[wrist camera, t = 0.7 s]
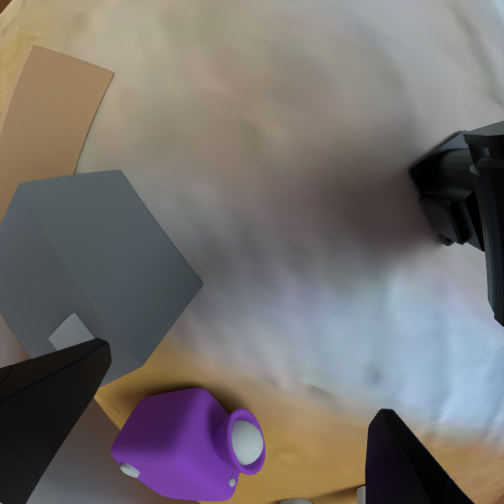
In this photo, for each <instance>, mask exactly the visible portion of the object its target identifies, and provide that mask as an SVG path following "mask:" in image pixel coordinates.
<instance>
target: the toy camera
mask: <svg viewBox="0 0 504 504" xmlns="http://www.w3.org/2000/svg"><path fill="white" fill-rule="evenodd" d="M111 454H112V456H113V457H114V459H115V460H116V461H117V462H118V463H119V464H120V465H121V470H122V471H123V472H125V473H126V474H128V475H130V476H132V477H136V478H138V479H139V480H140V481H141V482H143V483H144V484H145V485H147V486H148V487H150V488H151V489H152V490H154V491H155V492H157V493H158V494H161V495H162V496H165V497H169V498H176V499H185V500H197V501H224V500H228V499H230V498H231V497H232V495H233V493H234V491H235V488H236V485H237V481H238V477H239V473H240V472H241V473H244V474H247V475H253V474H256V473H257V472H259V471H260V469H261V468H262V466H263V463H264V459H265V443H264V438H263V434H262V430H261V428H260V425H259V423H258V422H257V420H256V418H255V417H254V416H253V414H252V413H251V412H249V411H248V410H246V409H242V408H241V409H237V410H235V411H233V412H232V413H231V414H230V415H229V414H228V413H227V412H226V411H225V410H224V408H223V407H222V406H221V405H220V404H219V403H218V401H217V400H216V399H215V398H214V397H213V396H212V395H211V394H210V393H209V392H208V391H207V390H205V389H204V388H189V389H184V390H178V391H173V392H168V393H163V394H157V395H152V396H147V397H145V398H143V399H142V400H141V401H140V402H139V403H138V404H137V406H136V407H135V409H134V410H133V412H132V413H131V415H130V416H129V418H128V420H127V421H126V423H125V424H124V426H123V428H122V429H121V431H120V432H119V434H118V436H117V437H116V439H115V441H114V443H113V445H112V448H111Z"/></svg>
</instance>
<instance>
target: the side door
mask: <svg viewBox="0 0 504 504" xmlns="http://www.w3.org/2000/svg"><path fill="white" fill-rule="evenodd" d="M114 73H115V72H112V71H110V70H107V69H105V68H102V67H99V66H97V65H94V64H91V63H89V62H86V61H83V60H80V59H77V58H75V57H72V56H69V55H66V54H63V53H59V52H56V51H53V50H50V49H46V48H43V47H40V46H36V45H30V44H28V46H27V48H26V50H25V52H24V55H23V57H22V59H21V61H20V63H19V66H18V68H17V71H16V73H15V75H14V78H13V81H12V83H11V86H10V89H9V91H8V94H7V97H6V100H5V103H4V106H3V109H2V113H1V116H0V224H1V222H2V220H3V217H4V215H5V213H6V210H7V208H8V206H9V204H10V201H11V199H12V197H13V195H14V193H15V191H16V189H17V187H18V185H19V183H24V182H30V181H35V180H41V179H48V178H54V177H61V176H68V175H73V174H74V171H75V168H76V165H77V161H78V158H79V155H80V152H81V150H82V147H83V144H84V141H85V138H86V136H87V133H88V130H89V128H90V125H91V123H92V120H93V118H94V115H95V113H96V111H97V108H98V106H99V104H100V102H101V99H102V97H103V95H104V93H105V91H106V89H107V87H108V84H109V82H110V80H111V78H112V76H113V74H114Z"/></svg>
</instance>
